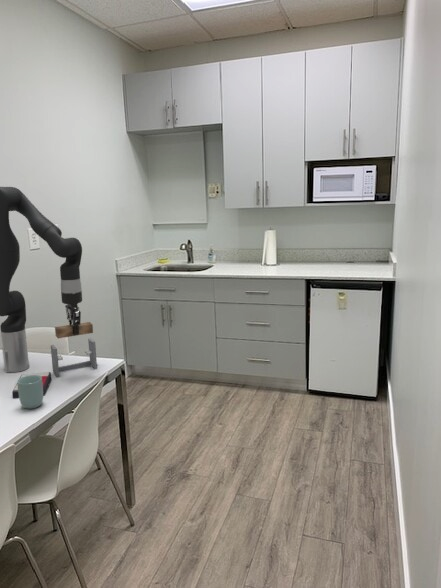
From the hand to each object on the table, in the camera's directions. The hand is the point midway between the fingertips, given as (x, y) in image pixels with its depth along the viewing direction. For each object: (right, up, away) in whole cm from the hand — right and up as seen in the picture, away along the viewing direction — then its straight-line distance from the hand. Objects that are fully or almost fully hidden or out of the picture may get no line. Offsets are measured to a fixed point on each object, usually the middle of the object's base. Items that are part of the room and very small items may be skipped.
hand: (74, 332), depth 172 cm
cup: (-8, -24, -19) cm, 32 cm away
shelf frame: (-3, -17, +12) cm, 21 cm away
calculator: (-14, -21, -5) cm, 26 cm away
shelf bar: (0, -1, 0) cm, 1 cm away
